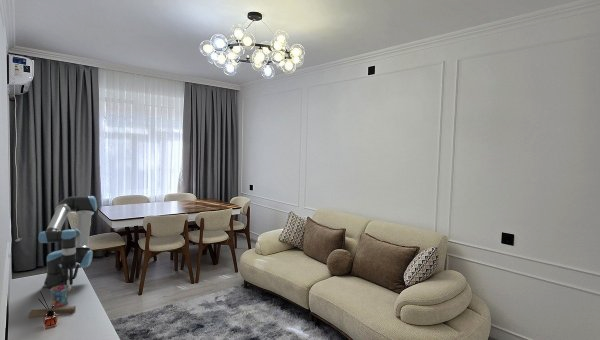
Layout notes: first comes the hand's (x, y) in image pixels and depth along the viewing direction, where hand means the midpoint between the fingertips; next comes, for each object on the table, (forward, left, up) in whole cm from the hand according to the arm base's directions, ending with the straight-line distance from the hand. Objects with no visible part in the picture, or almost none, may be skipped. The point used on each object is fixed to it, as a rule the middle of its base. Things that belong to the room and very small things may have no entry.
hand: (69, 289), depth 213 cm
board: (+23, 0, -5) cm, 24 cm away
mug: (+10, 0, -5) cm, 11 cm away
